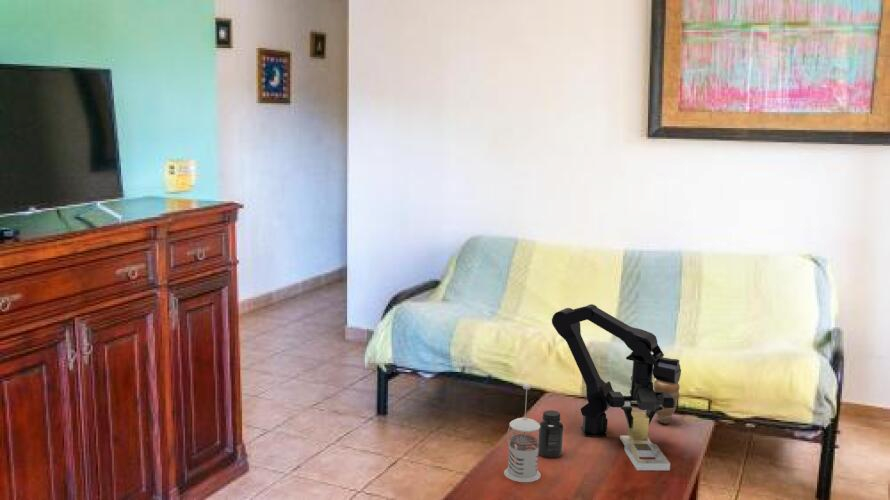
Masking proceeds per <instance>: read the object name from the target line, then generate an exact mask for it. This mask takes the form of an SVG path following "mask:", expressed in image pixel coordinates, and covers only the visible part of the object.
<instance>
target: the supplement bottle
mask: <svg viewBox="0 0 890 500" xmlns="http://www.w3.org/2000/svg"><path fill="white" fill-rule="evenodd" d="M538 423H539V424H540V429H539V430H538V436H537V437H538V439H537V440H538V442H537V444H538V455H540V456H541V457H543V458H546V459H547V458H548V459H555V458H559V457H561V455H562V453H563V444H564V443H563V441H564V425H563V423H562V422H561V413H560V412H559V411H557V410H553V409H549V410H545V411H543V412H542V420H541V421H540V422H538Z"/></svg>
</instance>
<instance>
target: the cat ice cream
mask: <svg viewBox="0 0 890 500" xmlns="http://www.w3.org/2000/svg"><path fill="white" fill-rule="evenodd" d="M680 389H681V388H680V384H679V382H678V383H677V384H673V383H669V382H664V381H659V380H656V379H655V380H654V383H653V390H654V392H668V393H669V394H670V395H671V396H672V397H673V398H674V399H675V407H674V408H664V407H663V406H662V405H661V407H662V408H663V409H662V410H659V411H657V412H656V413H655V414H656V415H657V420H658V421H659V422H660V423H661V424H665V425H666V424H669V423H670V422H671V420H672V418H673V414H674V413H675V411H676V407H677V405H678V404H677V403H678V400H679V398H680Z"/></svg>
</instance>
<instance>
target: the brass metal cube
mask: <svg viewBox="0 0 890 500" xmlns="http://www.w3.org/2000/svg"><path fill="white" fill-rule="evenodd" d="M649 427H650V424H649V417H648V415H647V414H646V411H632V412H631V428H629V426H628V425H627V436H629V437H630V439H631V440H632V441H647V440H648V438H649Z"/></svg>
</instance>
